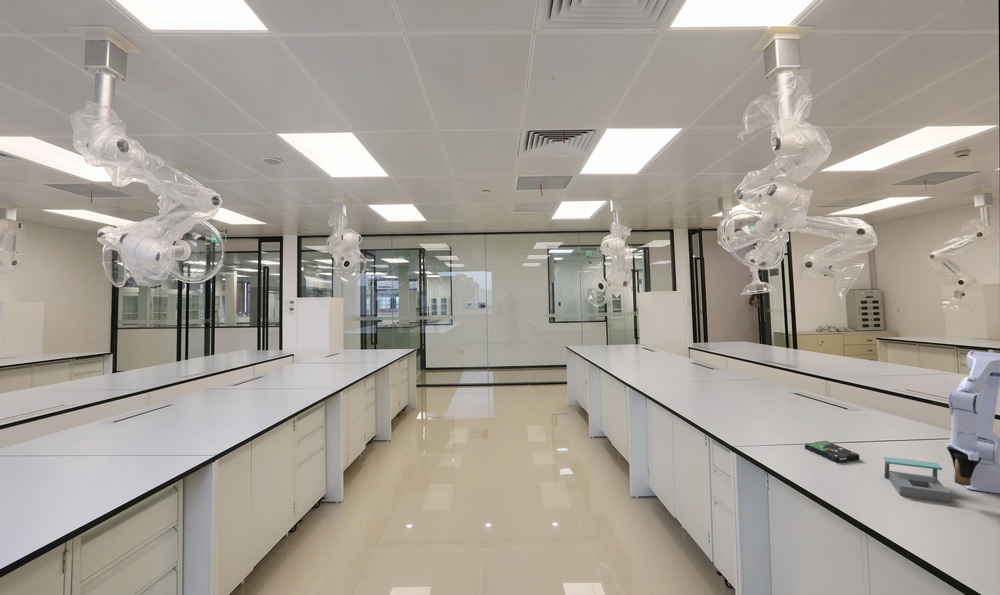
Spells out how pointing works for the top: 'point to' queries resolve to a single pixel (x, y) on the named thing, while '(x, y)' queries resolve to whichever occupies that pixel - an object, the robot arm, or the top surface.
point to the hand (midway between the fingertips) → (962, 474)
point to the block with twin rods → (911, 463)
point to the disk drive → (832, 451)
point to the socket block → (919, 486)
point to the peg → (958, 478)
